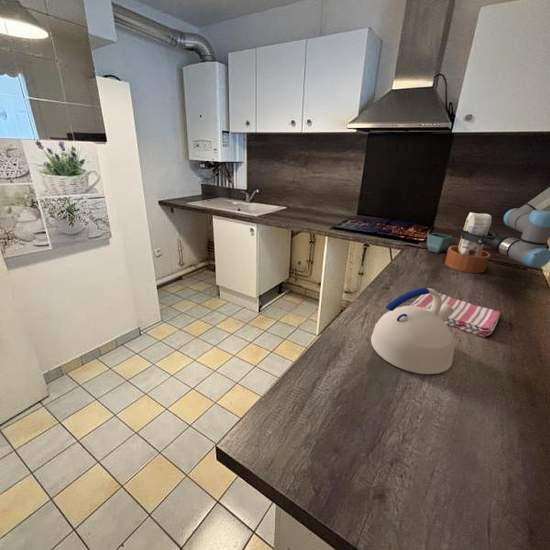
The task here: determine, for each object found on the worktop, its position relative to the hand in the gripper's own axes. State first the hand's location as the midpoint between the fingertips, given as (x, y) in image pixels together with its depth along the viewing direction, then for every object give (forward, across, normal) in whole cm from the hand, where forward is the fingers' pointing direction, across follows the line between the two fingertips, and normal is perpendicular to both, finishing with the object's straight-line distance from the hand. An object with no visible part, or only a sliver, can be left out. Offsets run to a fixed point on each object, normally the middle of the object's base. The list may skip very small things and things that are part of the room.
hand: (467, 231), depth 136 cm
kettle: (-64, -59, -16) cm, 89 cm away
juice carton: (-4, 0, -10) cm, 11 cm away
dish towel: (-47, -35, -16) cm, 61 cm away
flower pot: (+17, -1, -16) cm, 24 cm away
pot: (-4, 0, -16) cm, 16 cm away
